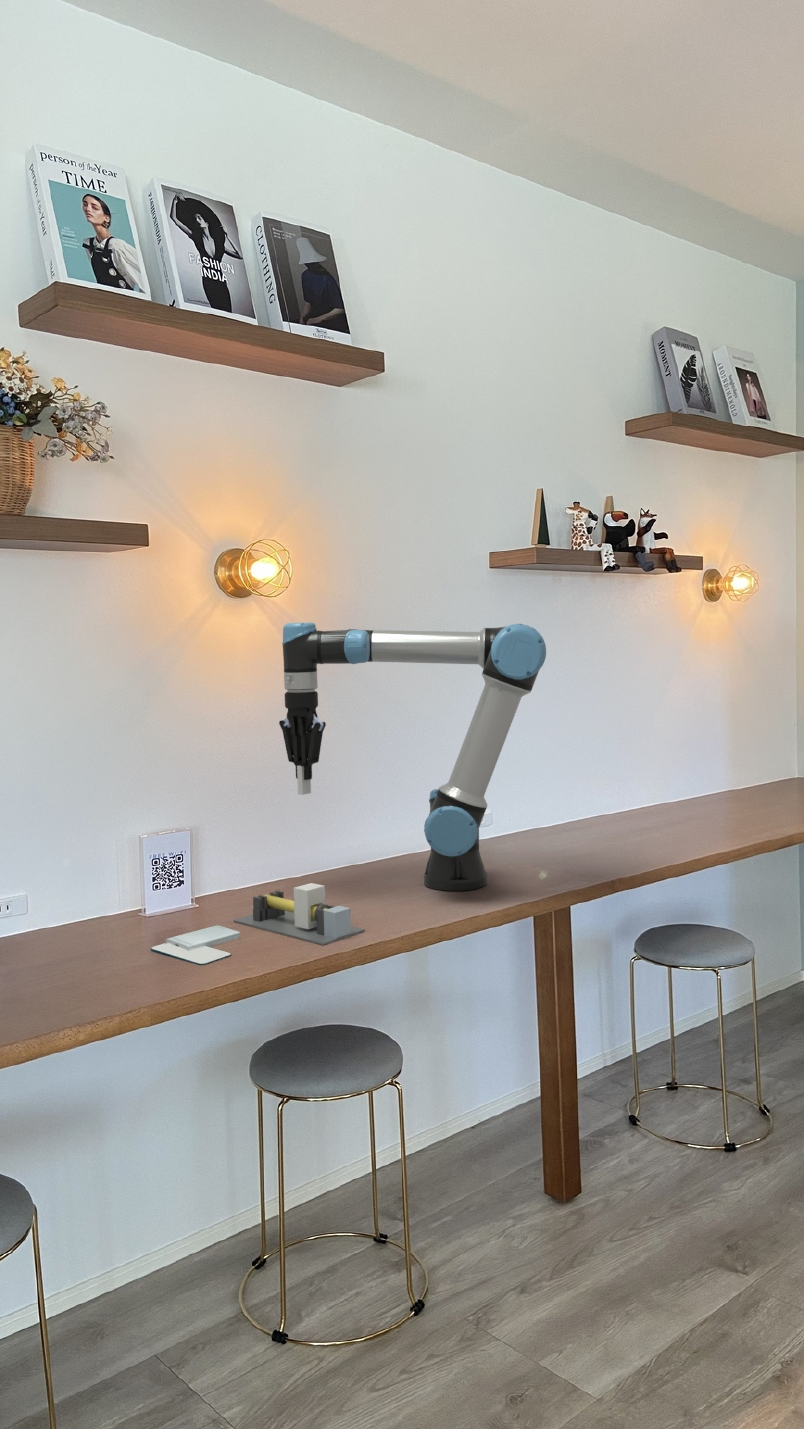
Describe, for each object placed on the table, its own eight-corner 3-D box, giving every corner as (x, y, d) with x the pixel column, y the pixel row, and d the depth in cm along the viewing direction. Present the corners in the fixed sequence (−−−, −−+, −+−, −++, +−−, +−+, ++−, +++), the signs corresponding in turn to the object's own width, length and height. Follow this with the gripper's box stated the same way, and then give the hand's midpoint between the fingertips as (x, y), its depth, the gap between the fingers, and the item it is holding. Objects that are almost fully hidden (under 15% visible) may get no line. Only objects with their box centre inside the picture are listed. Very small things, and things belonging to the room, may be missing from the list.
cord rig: (233, 921, 226) (232, 894, 225) (275, 909, 235) (275, 883, 234) (323, 945, 208) (322, 916, 208) (364, 931, 217) (364, 903, 217)
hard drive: (216, 924, 220) (164, 937, 211) (240, 931, 214) (188, 945, 205) (216, 932, 220) (165, 945, 211) (240, 939, 214) (188, 954, 205)
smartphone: (233, 958, 203) (180, 942, 213) (233, 953, 203) (180, 938, 213) (201, 969, 197) (148, 952, 207) (201, 964, 197) (148, 948, 207)
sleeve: (294, 925, 218) (293, 887, 218) (312, 920, 222) (311, 882, 221) (308, 929, 216) (307, 890, 215) (325, 923, 219) (324, 885, 219)
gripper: (269, 691, 242) (272, 793, 244) (309, 692, 234) (313, 798, 236) (292, 689, 248) (296, 789, 250) (333, 690, 239) (336, 793, 241)
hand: (304, 793), depth 243 cm, fingers closed
